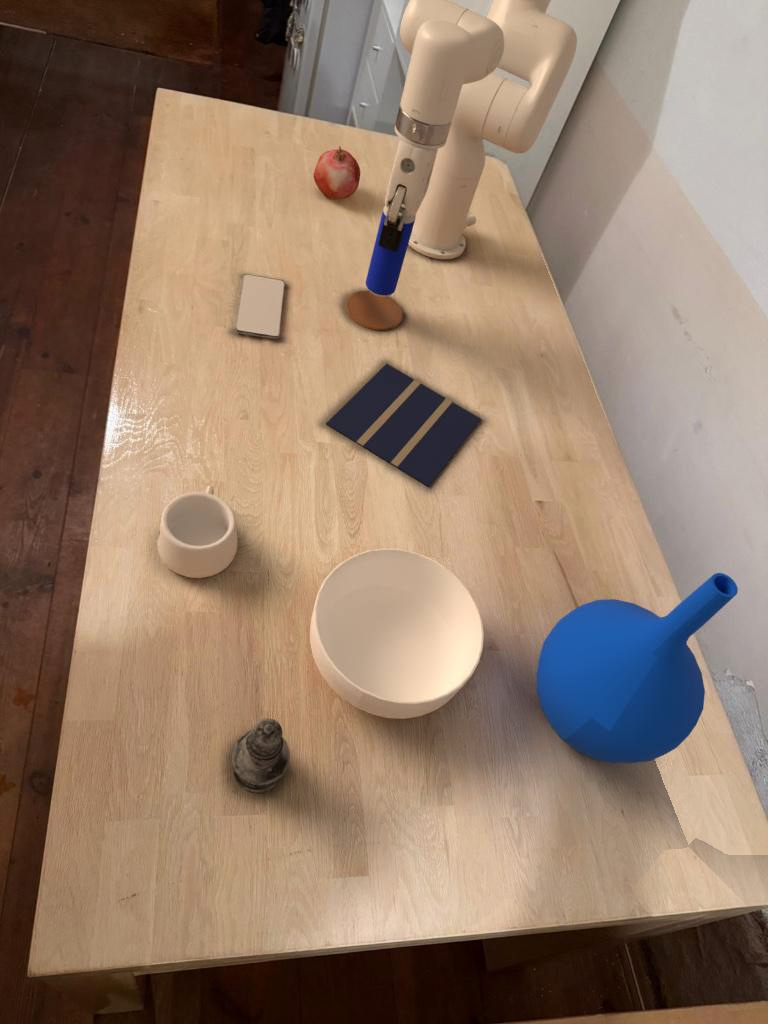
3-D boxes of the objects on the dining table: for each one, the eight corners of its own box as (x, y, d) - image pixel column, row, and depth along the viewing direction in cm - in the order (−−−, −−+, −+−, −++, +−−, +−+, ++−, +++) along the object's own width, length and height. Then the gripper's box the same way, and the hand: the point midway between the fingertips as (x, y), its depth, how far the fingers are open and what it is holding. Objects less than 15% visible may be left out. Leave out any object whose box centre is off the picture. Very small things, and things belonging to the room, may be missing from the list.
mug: (228, 587, 91) (231, 561, 86) (147, 572, 89) (146, 545, 85) (247, 510, 98) (250, 482, 93) (173, 496, 97) (173, 466, 92)
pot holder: (386, 364, 121) (386, 363, 121) (480, 420, 118) (481, 418, 118) (325, 424, 110) (326, 423, 110) (428, 487, 107) (428, 485, 107)
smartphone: (234, 330, 117) (243, 273, 126) (234, 333, 118) (243, 275, 127) (279, 338, 118) (285, 280, 127) (278, 340, 119) (284, 283, 128)
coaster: (375, 286, 133) (375, 284, 133) (413, 318, 130) (414, 317, 130) (334, 303, 128) (334, 301, 127) (373, 337, 125) (373, 335, 124)
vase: (680, 766, 90) (857, 658, 67) (550, 801, 84) (694, 696, 60) (614, 631, 99) (747, 497, 76) (492, 653, 93) (598, 514, 70)
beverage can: (398, 286, 127) (421, 206, 115) (389, 302, 123) (411, 221, 112) (370, 275, 127) (390, 194, 115) (360, 290, 124) (379, 209, 112)
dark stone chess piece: (231, 739, 80) (238, 695, 70) (285, 739, 81) (300, 696, 72) (228, 796, 76) (236, 757, 67) (286, 795, 78) (301, 756, 68)
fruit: (335, 176, 152) (344, 127, 145) (365, 201, 149) (376, 153, 142) (300, 185, 148) (307, 135, 140) (331, 211, 144) (340, 162, 137)
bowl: (483, 630, 95) (506, 597, 88) (425, 764, 83) (447, 738, 76) (348, 559, 97) (361, 521, 90) (272, 680, 85) (280, 647, 78)
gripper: (434, 160, 98) (401, 275, 112) (460, 110, 109) (427, 221, 123) (381, 140, 98) (355, 258, 112) (412, 92, 109) (385, 205, 123)
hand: (393, 237), depth 118 cm, fingers closed on beverage can, 5 cm apart
